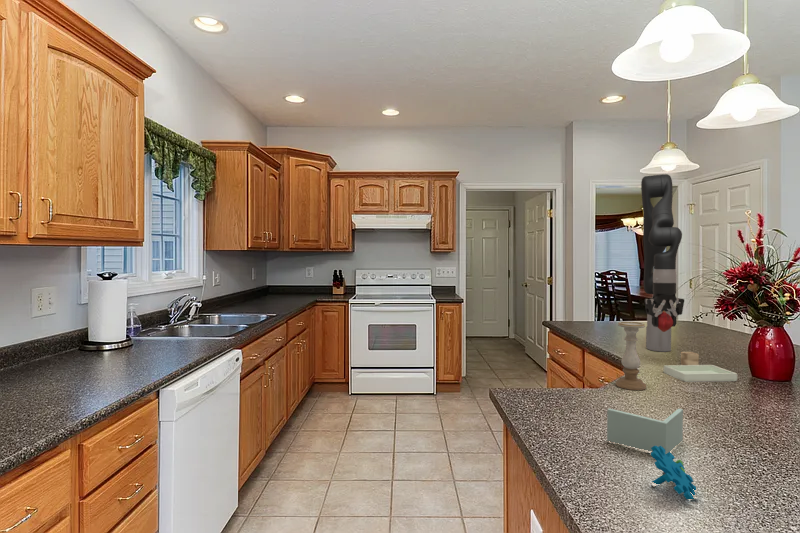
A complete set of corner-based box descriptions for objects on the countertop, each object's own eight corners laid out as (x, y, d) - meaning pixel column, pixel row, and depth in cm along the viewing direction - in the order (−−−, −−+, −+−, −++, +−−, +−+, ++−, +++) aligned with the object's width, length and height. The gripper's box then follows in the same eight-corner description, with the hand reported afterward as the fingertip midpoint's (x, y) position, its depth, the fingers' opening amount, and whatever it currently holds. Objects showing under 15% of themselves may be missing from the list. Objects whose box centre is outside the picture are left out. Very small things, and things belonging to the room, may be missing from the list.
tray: (663, 372, 162) (663, 365, 162) (712, 371, 162) (712, 364, 162) (684, 381, 150) (684, 374, 150) (737, 381, 151) (737, 373, 151)
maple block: (680, 365, 172) (681, 351, 172) (691, 364, 172) (691, 351, 172) (687, 367, 168) (687, 354, 168) (698, 367, 168) (698, 354, 168)
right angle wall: (682, 442, 104) (682, 409, 103) (665, 459, 95) (666, 423, 95) (626, 427, 112) (627, 397, 112) (607, 442, 104) (607, 409, 104)
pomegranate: (676, 333, 167) (676, 311, 167) (660, 333, 167) (660, 311, 167) (667, 330, 173) (667, 309, 172) (651, 330, 173) (652, 309, 172)
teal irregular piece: (695, 504, 75) (650, 448, 81) (665, 520, 78) (623, 465, 83) (708, 488, 83) (666, 438, 89) (680, 503, 86) (641, 453, 91)
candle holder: (624, 390, 141) (625, 325, 140) (610, 382, 150) (610, 321, 149) (652, 390, 141) (652, 325, 141) (636, 382, 150) (637, 320, 150)
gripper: (677, 280, 173) (676, 324, 174) (639, 280, 173) (639, 325, 173) (690, 281, 165) (689, 327, 166) (651, 282, 165) (650, 328, 166)
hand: (663, 326), depth 170 cm, fingers closed on pomegranate, 5 cm apart
